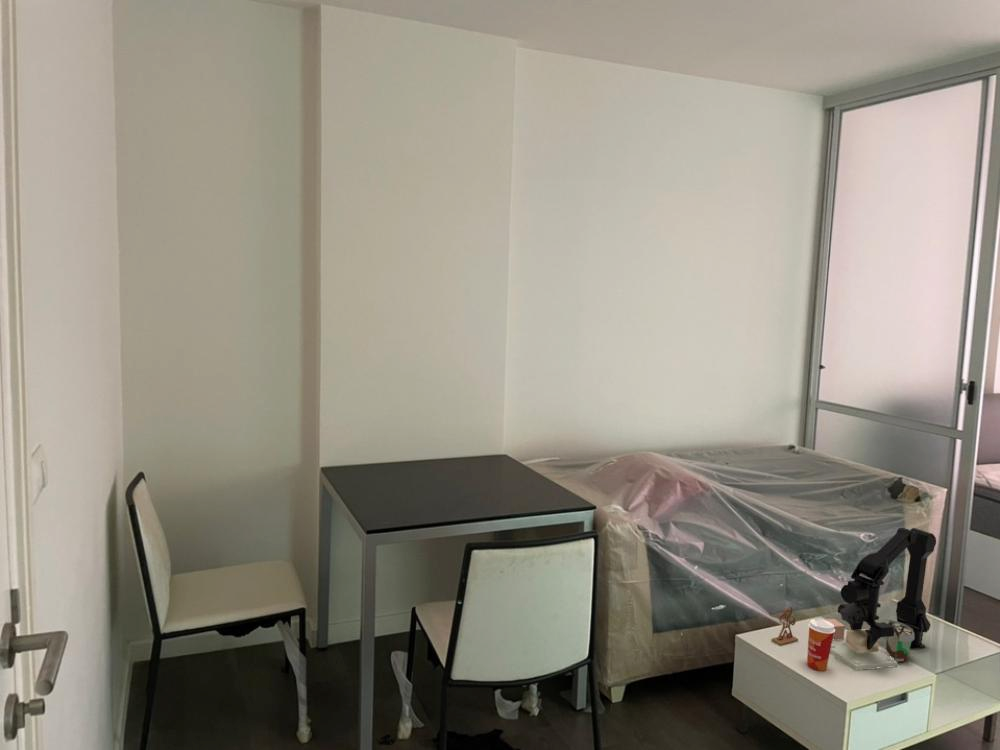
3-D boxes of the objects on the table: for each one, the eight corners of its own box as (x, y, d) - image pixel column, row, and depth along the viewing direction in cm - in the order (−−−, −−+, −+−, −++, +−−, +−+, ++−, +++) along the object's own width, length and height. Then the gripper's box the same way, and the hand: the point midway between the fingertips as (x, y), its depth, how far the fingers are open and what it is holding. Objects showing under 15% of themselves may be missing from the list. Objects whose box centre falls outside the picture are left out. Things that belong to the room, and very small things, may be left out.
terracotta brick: (832, 632, 264) (834, 618, 264) (843, 640, 259) (845, 626, 259) (812, 633, 262) (814, 619, 262) (823, 641, 257) (824, 627, 256)
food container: (916, 668, 242) (920, 638, 241) (895, 665, 243) (899, 635, 242) (904, 650, 254) (908, 622, 253) (884, 647, 255) (888, 619, 254)
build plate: (864, 645, 255) (865, 639, 255) (897, 666, 242) (898, 659, 242) (824, 649, 251) (825, 642, 251) (855, 670, 238) (856, 663, 237)
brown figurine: (788, 636, 258) (792, 602, 257) (798, 641, 255) (802, 607, 254) (770, 641, 254) (774, 606, 253) (780, 646, 251) (784, 611, 249)
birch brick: (865, 643, 250) (867, 628, 249) (878, 651, 245) (880, 636, 244) (845, 645, 248) (846, 630, 247) (857, 653, 242) (859, 638, 242)
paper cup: (798, 660, 242) (804, 617, 240) (822, 660, 242) (827, 618, 241) (811, 672, 234) (816, 629, 232) (835, 673, 235) (840, 629, 233)
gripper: (826, 588, 251) (820, 633, 253) (869, 612, 233) (862, 661, 235) (854, 586, 254) (848, 631, 256) (898, 610, 236) (892, 658, 238)
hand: (861, 645), depth 246 cm, fingers closed on birch brick, 5 cm apart
